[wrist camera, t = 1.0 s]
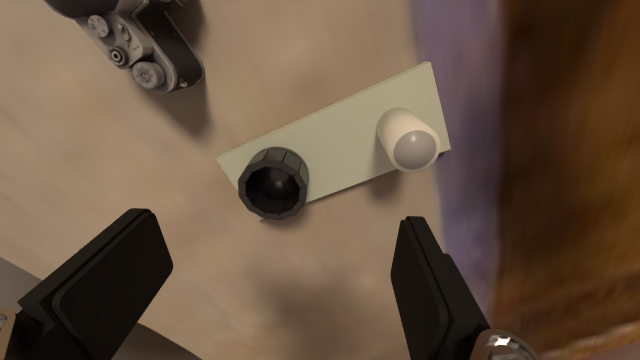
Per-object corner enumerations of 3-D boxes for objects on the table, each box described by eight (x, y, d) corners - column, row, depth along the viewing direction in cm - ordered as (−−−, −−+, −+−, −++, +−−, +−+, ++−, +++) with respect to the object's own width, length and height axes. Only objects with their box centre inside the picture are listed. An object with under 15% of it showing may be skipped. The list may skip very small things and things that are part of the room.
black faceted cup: (291, 136, 30) (286, 149, 26) (319, 189, 33) (317, 206, 29) (236, 161, 31) (224, 175, 28) (267, 208, 34) (260, 227, 31)
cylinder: (410, 100, 27) (434, 117, 21) (420, 136, 29) (446, 162, 23) (370, 117, 28) (382, 138, 22) (383, 151, 30) (397, 180, 24)
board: (425, 61, 27) (430, 62, 25) (445, 144, 31) (451, 148, 30) (220, 154, 33) (215, 159, 31) (260, 214, 37) (258, 220, 35)
